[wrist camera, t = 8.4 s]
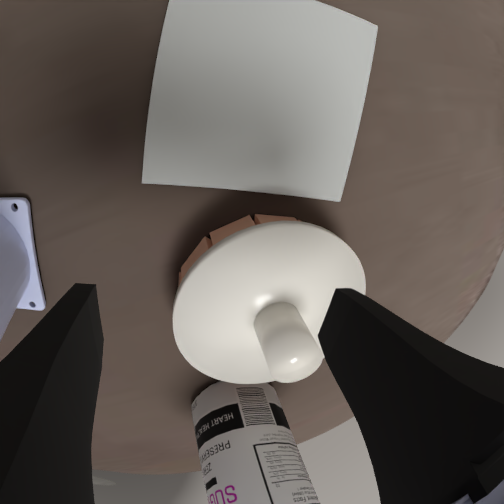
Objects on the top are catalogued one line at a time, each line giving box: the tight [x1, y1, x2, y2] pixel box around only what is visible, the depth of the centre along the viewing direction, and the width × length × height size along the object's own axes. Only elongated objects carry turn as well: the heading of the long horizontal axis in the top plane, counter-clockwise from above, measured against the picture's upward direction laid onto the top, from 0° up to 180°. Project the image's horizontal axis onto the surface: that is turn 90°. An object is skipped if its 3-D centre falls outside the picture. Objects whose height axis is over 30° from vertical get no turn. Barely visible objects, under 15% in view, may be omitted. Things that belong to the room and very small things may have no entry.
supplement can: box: [192, 381, 320, 504], centre depth 21 cm, size 8×8×15 cm
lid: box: [172, 221, 366, 384], centre depth 17 cm, size 12×12×4 cm
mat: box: [142, 0, 378, 202], centre depth 15 cm, size 12×12×1 cm
